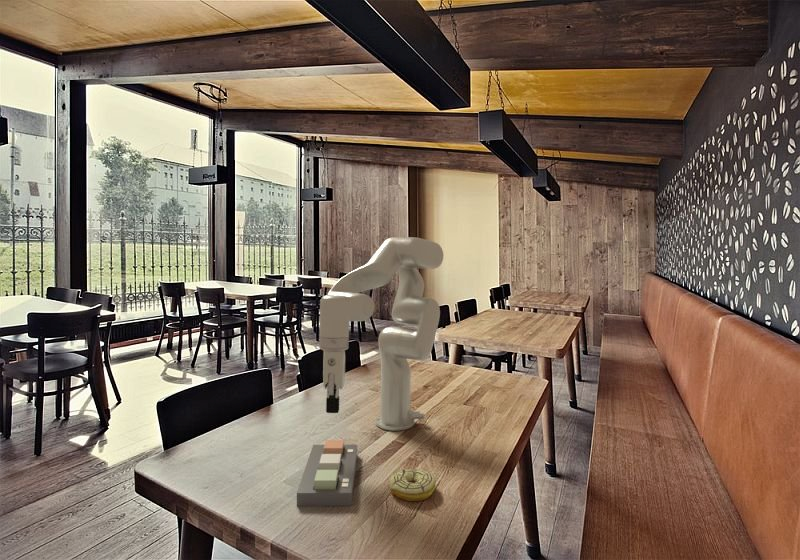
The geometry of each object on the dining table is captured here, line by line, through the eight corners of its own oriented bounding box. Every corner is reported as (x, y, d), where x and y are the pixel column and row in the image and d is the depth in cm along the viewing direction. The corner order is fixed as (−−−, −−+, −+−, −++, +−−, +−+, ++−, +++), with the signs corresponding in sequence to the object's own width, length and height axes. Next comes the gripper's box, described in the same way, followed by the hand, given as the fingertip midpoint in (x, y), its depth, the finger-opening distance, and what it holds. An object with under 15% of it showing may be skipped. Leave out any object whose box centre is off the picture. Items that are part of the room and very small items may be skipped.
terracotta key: (343, 450, 122) (343, 440, 122) (342, 459, 117) (342, 448, 117) (325, 450, 122) (325, 440, 122) (323, 459, 117) (323, 448, 117)
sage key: (337, 481, 106) (337, 469, 106) (335, 493, 101) (335, 480, 101) (317, 482, 106) (317, 469, 106) (314, 493, 101) (314, 480, 101)
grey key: (340, 465, 114) (341, 453, 114) (339, 475, 109) (339, 463, 109) (321, 465, 114) (321, 453, 114) (319, 475, 109) (319, 463, 109)
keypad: (357, 455, 124) (357, 443, 124) (351, 505, 100) (351, 491, 100) (313, 455, 123) (313, 443, 123) (296, 506, 100) (296, 492, 99)
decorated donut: (398, 477, 113) (398, 462, 113) (439, 485, 110) (440, 470, 110) (383, 498, 103) (383, 482, 103) (428, 508, 100) (429, 491, 100)
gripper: (346, 349, 110) (344, 422, 111) (350, 337, 125) (349, 402, 126) (315, 348, 109) (313, 422, 111) (323, 336, 124) (322, 402, 125)
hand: (332, 411), depth 118 cm, fingers closed
